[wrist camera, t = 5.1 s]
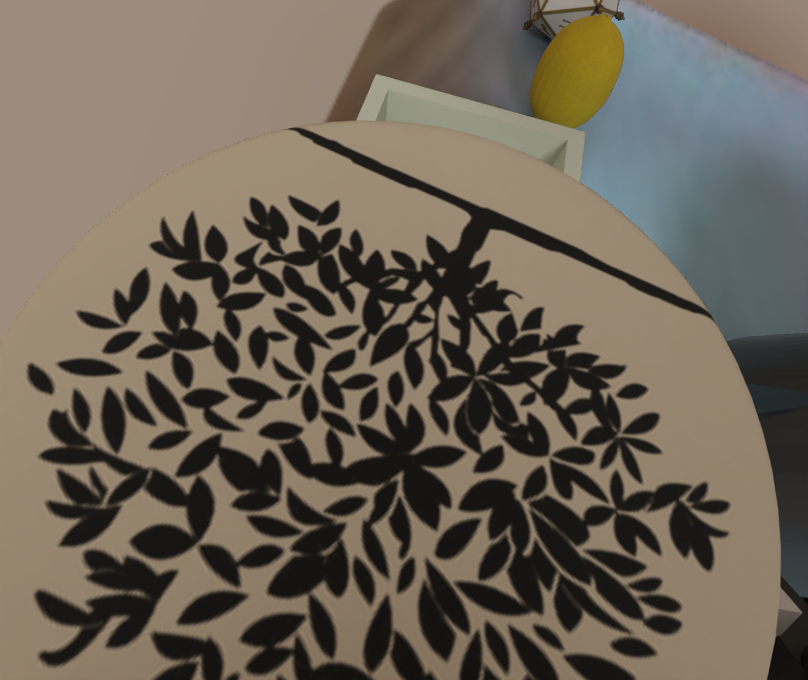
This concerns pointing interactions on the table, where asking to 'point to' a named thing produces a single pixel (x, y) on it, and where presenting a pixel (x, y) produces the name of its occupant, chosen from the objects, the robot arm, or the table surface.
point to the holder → (475, 122)
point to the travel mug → (378, 432)
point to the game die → (567, 13)
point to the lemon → (577, 71)
